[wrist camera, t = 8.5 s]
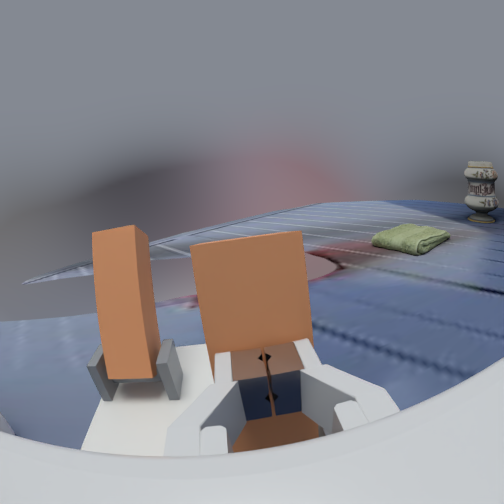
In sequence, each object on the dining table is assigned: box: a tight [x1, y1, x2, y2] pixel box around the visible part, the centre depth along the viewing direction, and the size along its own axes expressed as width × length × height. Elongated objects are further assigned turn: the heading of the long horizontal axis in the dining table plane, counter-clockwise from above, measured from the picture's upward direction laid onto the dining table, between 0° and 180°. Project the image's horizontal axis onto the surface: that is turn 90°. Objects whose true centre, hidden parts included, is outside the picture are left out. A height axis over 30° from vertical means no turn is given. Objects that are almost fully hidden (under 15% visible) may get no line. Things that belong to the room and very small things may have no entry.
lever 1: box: [92, 225, 162, 383], centre depth 21 cm, size 4×4×12 cm
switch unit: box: [81, 339, 331, 456], centre depth 17 cm, size 16×18×6 cm
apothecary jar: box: [464, 161, 498, 223], centre depth 66 cm, size 12×12×18 cm
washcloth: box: [371, 224, 450, 255], centre depth 56 cm, size 13×18×3 cm
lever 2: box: [190, 231, 319, 453], centre depth 11 cm, size 4×4×12 cm
